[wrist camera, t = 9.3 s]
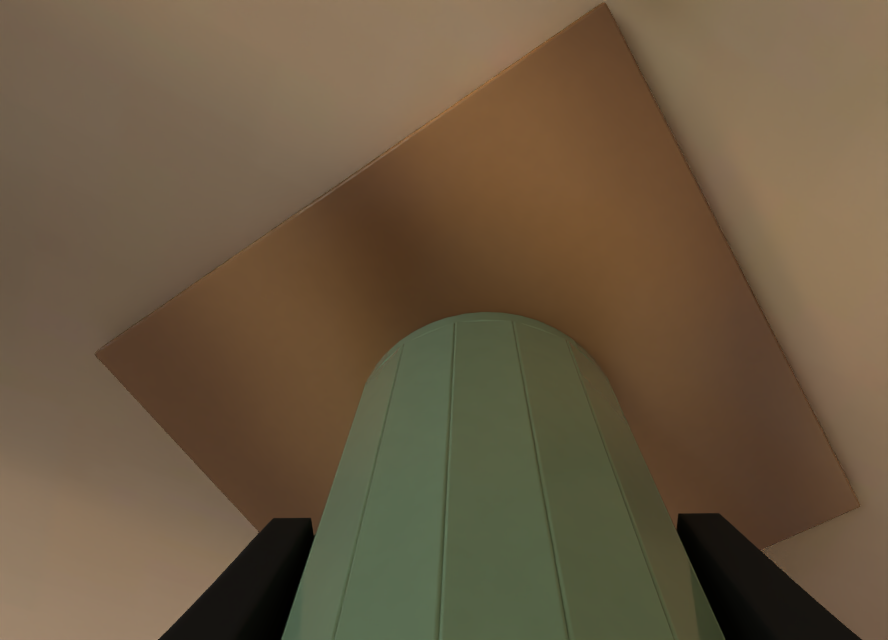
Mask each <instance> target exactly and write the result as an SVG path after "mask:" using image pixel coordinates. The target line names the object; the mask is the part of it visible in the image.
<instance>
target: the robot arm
mask: <svg viewBox="0 0 888 640" xmlns="http://www.w3.org/2000/svg"><path fill="white" fill-rule="evenodd" d="M676 530H677V533H678V535H679V537H680V539H681V541H682V544H683V546H684V548H685V550H686V552H687V555H688V557H689V559H690V561H691V564H692V566H693V568H694V570H695V572H696V575H697V577H698V579H699V581H700V583H701V586H702V588H703V590H704V592H705V595H706V597H707V599H708V601H709V603H710V606H711V608H712V610H713V612H714V614H715V617H716V619H717V621H718V623H719V626H720V628H721V630H722V632H723V634H724V637H725V639H726V640H862V639H861V638H859V637H858V636H857V635H856V634H855V633H853V632H852V631H851V630H850V629H848V628H847V627H846V626H845V625H844V624H843V623H841V622H840V621H839V620H838V619H837V618H836V617H834V616H833V615H832V614H831V613H830V612H829V611H827V610H826V609H825V608H824V607H823V606H822V605H820V604H819V603H818V602H817V601H816V600H815V599H814V598H812V597H811V596H810V595H809V594H808V593H807V592H806V591H804V590H803V589H802V588H801V587H800V586H799V585H798V584H797V583H795V582H794V581H793V580H792V579H791V578H790V577H789V576H788V575H787V574H785V573H784V572H783V571H782V570H781V569H780V568H779V567H778V566H777V565H776V564H774V563H773V562H772V561H771V560H770V559H769V558H768V557H767V556H766V555H765V554H763V553H762V552H761V551H760V550H759V549H758V548H757V547H756V546H755V545H754V544H753V543H752V542H750V541H749V540H748V539H747V538H746V537H745V536H744V535H743V534H742V533H741V532H740V531H738V530H737V529H736V528H735V527H734V526H733V525H732V524H731V523H730V522H729V521H727V520H726V519H725V518H724V517H723V516H722V515H721V514H719V513H678V520H677V529H676ZM313 536H314V534H313V527H312V520H311V518H273V519H272V520H271V521H270V522H269V523H268V524H267V525H266V526H265V527H264V528H263V529H262V530H261V531H260V532H259V533H258V535H257V536H256V537H255V538H254V539H253V540H252V541H251V542H250V543H249V544H248V546H247V547H246V548H245V549H244V550H243V551H242V552H241V553H240V554H239V555H238V557H237V558H236V559H235V560H234V561H233V562H232V563H231V564H230V565H229V566H228V567H227V569H226V570H225V571H224V572H223V573H222V574H221V575H220V576H219V577H218V578H217V579H216V581H215V582H214V583H213V584H212V585H211V586H210V587H209V588H208V589H207V590H206V591H205V592H204V593H203V594H202V595H201V596H200V597H199V598H198V599H197V601H196V602H195V603H194V604H193V605H192V606H191V607H190V608H189V609H188V610H187V611H186V612H185V613H184V614H183V615H182V616H181V617H180V618H179V619H178V620H177V621H176V622H175V623H174V624H173V625H172V626H171V627H170V629H169V630H168V631H167V632H166V633H165V634H164V635H162V636H161V637H160V638H159V639H158V640H279V639H280V636H281V633H282V630H283V627H284V624H285V621H286V618H287V615H288V612H289V609H290V606H291V603H292V600H293V597H294V594H295V591H296V588H297V585H298V582H299V579H300V576H301V573H302V570H303V567H304V564H305V561H306V558H307V555H308V552H309V549H310V546H311V543H312V540H313Z"/></svg>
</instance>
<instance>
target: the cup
mask: <svg viewBox="0 0 888 640" xmlns="http://www.w3.org/2000/svg"><path fill="white" fill-rule="evenodd" d="M279 640H726V639H725V637H724V634H723V632H722V630H721V628H720V626H719V623H718V621H717V619H716V617H715V614H714V612H713V610H712V608H711V606H710V603H709V601H708V599H707V597H706V595H705V592H704V590H703V588H702V586H701V583H700V581H699V579H698V577H697V575H696V572H695V570H694V568H693V566H692V564H691V561H690V559H689V557H688V555H687V552H686V550H685V548H684V546H683V544H682V541H681V539H680V537H679V535H678V533H677V530H676V528H675V526H674V524H673V521H672V519H671V517H670V515H669V513H668V510H667V508H666V506H665V504H664V502H663V499H662V497H661V495H660V493H659V491H658V488H657V486H656V484H655V482H654V479H653V477H652V475H651V473H650V471H649V468H648V466H647V464H646V462H645V460H644V457H643V455H642V453H641V451H640V448H639V446H638V444H637V442H636V440H635V437H634V435H633V433H632V431H631V429H630V426H629V424H628V422H627V420H626V417H625V415H624V413H623V411H622V409H621V406H620V404H619V402H618V400H617V398H616V395H615V393H614V391H613V389H612V386H611V384H610V382H609V380H608V378H607V377H606V375H605V374H604V372H603V371H602V369H601V368H600V367H599V365H598V364H597V362H596V361H595V360H594V358H593V357H592V356H591V355H590V354H589V353H588V352H587V351H586V350H585V349H584V348H583V347H582V346H581V345H579V344H578V343H577V342H576V341H574V340H573V339H572V338H571V337H569V336H568V335H566V334H564V333H563V332H561V331H559V330H557V329H556V328H554V327H552V326H549V325H547V324H545V323H542V322H540V321H538V320H534V319H531V318H527V317H524V316H520V315H514V314H508V313H499V312H477V313H466V314H461V315H456V316H451V317H447V318H444V319H441V320H438V321H435V322H433V323H430V324H428V325H426V326H424V327H422V328H420V329H418V330H416V331H414V332H412V333H411V334H409V335H408V336H406V337H405V338H403V339H402V340H400V341H399V342H398V343H397V344H396V345H395V346H393V347H392V348H391V349H390V350H389V351H388V352H387V353H386V354H385V355H384V356H383V358H382V359H381V360H380V361H379V362H378V363H377V365H376V366H375V368H374V369H373V371H372V373H371V374H370V376H369V377H368V379H367V381H366V383H365V385H364V388H363V391H362V393H361V396H360V399H359V402H358V405H357V408H356V411H355V413H354V416H353V419H352V422H351V425H350V428H349V431H348V434H347V437H346V440H345V443H344V446H343V449H342V452H341V455H340V458H339V461H338V464H337V467H336V470H335V473H334V476H333V479H332V482H331V485H330V488H329V491H328V494H327V497H326V500H325V503H324V506H323V509H322V512H321V515H320V518H319V521H318V524H317V527H316V530H315V533H314V536H313V540H312V543H311V546H310V549H309V552H308V555H307V558H306V561H305V564H304V567H303V570H302V573H301V576H300V579H299V582H298V585H297V588H296V591H295V594H294V597H293V600H292V603H291V606H290V609H289V612H288V615H287V618H286V621H285V624H284V627H283V630H282V633H281V636H280V639H279Z"/></svg>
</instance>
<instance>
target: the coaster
mask: <svg viewBox="0 0 888 640" xmlns="http://www.w3.org/2000/svg"><path fill="white" fill-rule="evenodd" d="M477 312H499V313H508V314H514V315H520V316H524V317H527V318H531V319H534V320H538V321H540V322H542V323H545V324H547V325H549V326H552V327H554V328H556V329H557V330H559V331H561V332H563V333H564V334H566V335H568V336H569V337H571V338H572V339H573V340H574V341H576V342H577V343H578V344H579V345H581V346H582V347H583V348H584V349H585V350H586V351H587V352H588V353H589V354H590V355H591V356H592V357H593V358H594V360H595V361H596V362H597V364H598V365H599V367H600V368H601V369H602V371H603V372H604V374H605V375H606V377H607V378H608V380H609V382H610V384H611V386H612V389H613V391H614V393H615V395H616V398H617V400H618V402H619V404H620V406H621V409H622V411H623V413H624V415H625V417H626V420H627V422H628V424H629V426H630V429H631V431H632V433H633V435H634V437H635V440H636V442H637V444H638V446H639V448H640V451H641V453H642V455H643V457H644V460H645V462H646V464H647V466H648V468H649V471H650V473H651V475H652V477H653V479H654V482H655V484H656V486H657V488H658V491H659V493H660V495H661V497H662V499H663V502H664V504H665V506H666V508H667V510H668V513H669V515H670V517H671V519H672V521H673V524H674V526H675V528H676V529H677V520H678V513H719V514H721V515H722V516H723V517H724V518H725V519H726V520H727V521H729V522H730V523H731V524H732V525H733V526H734V527H735V528H736V529H737V530H738V531H740V532H741V533H742V534H743V535H744V536H745V537H746V538H747V539H748V540H749V541H750V542H752V543H753V544H754V545H755V546H756V547H757V548H758V549H759V550H761V549H764V548H766V547H768V546H771V545H773V544H775V543H777V542H780V541H782V540H784V539H787V538H789V537H791V536H794V535H796V534H798V533H801V532H803V531H805V530H807V529H810V528H812V527H814V526H817V525H819V524H821V523H824V522H826V521H828V520H830V519H833V518H835V517H837V516H840V515H842V514H844V513H847V512H849V511H851V510H854V509H856V508H858V507H860V503H859V501H858V499H857V497H856V495H855V493H854V491H853V489H852V487H851V485H850V483H849V482H848V480H847V478H846V476H845V474H844V472H843V470H842V468H841V466H840V464H839V462H838V460H837V458H836V456H835V454H834V452H833V450H832V448H831V446H830V444H829V442H828V440H827V438H826V436H825V434H824V432H823V430H822V428H821V426H820V424H819V422H818V420H817V418H816V416H815V414H814V412H813V410H812V409H811V407H810V405H809V403H808V401H807V399H806V397H805V395H804V393H803V391H802V389H801V387H800V385H799V383H798V381H797V379H796V377H795V375H794V373H793V371H792V369H791V367H790V365H789V363H788V361H787V359H786V357H785V355H784V353H783V351H782V349H781V347H780V345H779V343H778V341H777V339H776V337H775V336H774V334H773V332H772V330H771V328H770V326H769V324H768V322H767V320H766V318H765V316H764V314H763V312H762V310H761V308H760V306H759V304H758V302H757V300H756V298H755V296H754V294H753V292H752V290H751V288H750V286H749V284H748V282H747V280H746V278H745V276H744V274H743V272H742V270H741V268H740V266H739V264H738V263H737V261H736V259H735V257H734V255H733V253H732V251H731V249H730V247H729V245H728V243H727V241H726V239H725V237H724V235H723V233H722V231H721V229H720V227H719V225H718V223H717V221H716V219H715V217H714V215H713V213H712V211H711V209H710V207H709V205H708V203H707V201H706V199H705V197H704V195H703V193H702V191H701V190H700V188H699V186H698V184H697V182H696V180H695V178H694V176H693V174H692V172H691V170H690V168H689V166H688V164H687V162H686V160H685V158H684V156H683V154H682V152H681V150H680V148H679V146H678V144H677V142H676V140H675V138H674V136H673V134H672V132H671V130H670V128H669V126H668V124H667V122H666V120H665V118H664V117H663V115H662V113H661V111H660V109H659V107H658V105H657V103H656V101H655V99H654V97H653V95H652V93H651V91H650V89H649V87H648V85H647V83H646V81H645V79H644V77H643V75H642V73H641V71H640V69H639V67H638V65H637V63H636V61H635V59H634V57H633V55H632V53H631V51H630V49H629V47H628V45H627V44H626V42H625V40H624V38H623V36H622V34H621V32H620V30H619V28H618V26H617V24H616V22H615V20H614V18H613V16H612V14H611V12H610V10H609V8H608V6H607V4H606V3H601V4H599V5H598V6H596V7H595V8H593V9H592V10H590V11H589V12H588V13H586V14H585V15H583V16H582V17H580V18H579V19H577V20H576V21H575V22H573V23H572V24H570V25H569V26H567V27H566V28H564V29H563V30H561V31H560V32H559V33H557V34H556V35H554V36H553V37H551V38H550V39H548V40H547V41H545V42H544V43H543V44H541V45H540V46H538V47H537V48H535V49H534V50H532V51H531V52H529V53H528V54H527V55H525V56H524V57H522V58H521V59H519V60H518V61H516V62H515V63H514V64H512V65H511V66H509V67H508V68H506V69H505V70H503V71H502V72H500V73H499V74H498V75H496V76H495V77H493V78H492V79H490V80H489V81H487V82H486V83H484V84H483V85H482V86H480V87H479V88H477V89H476V90H474V91H473V92H471V93H470V94H469V95H467V96H466V97H464V98H463V99H461V100H460V101H458V102H457V103H455V104H454V105H453V106H451V107H450V108H448V109H447V110H445V111H444V112H442V113H441V114H439V115H438V116H437V117H435V118H434V119H432V120H431V121H429V122H428V123H426V124H425V125H423V126H422V127H421V128H419V129H418V130H416V131H415V132H413V133H412V134H410V135H409V136H408V137H406V138H405V139H403V140H402V141H400V142H399V143H397V144H396V145H394V146H393V147H392V148H390V149H389V150H387V151H386V152H384V153H383V154H381V155H380V156H378V157H377V158H376V159H374V160H373V161H371V162H370V163H368V164H367V165H365V166H364V167H362V168H361V169H360V170H358V171H357V172H355V173H354V174H352V175H351V176H349V177H348V178H347V179H345V180H344V181H342V182H341V183H339V184H338V185H336V186H335V187H333V188H332V189H331V190H329V191H328V192H326V193H325V194H323V195H322V196H320V197H319V198H317V199H316V200H315V201H313V202H312V203H310V204H309V205H307V206H306V207H304V208H303V209H302V210H300V211H299V212H297V213H296V214H294V215H293V216H291V217H290V218H288V219H287V220H286V221H284V222H283V223H281V224H280V225H278V226H277V227H275V228H274V229H272V230H271V231H270V232H268V233H267V234H265V235H264V236H262V237H261V238H259V239H258V240H256V241H255V242H254V243H252V244H251V245H249V246H248V247H246V248H245V249H243V250H242V251H241V252H239V253H238V254H236V255H235V256H233V257H232V258H230V259H229V260H227V261H226V262H225V263H223V264H222V265H220V266H219V267H217V268H216V269H214V270H213V271H211V272H210V273H209V274H207V275H206V276H204V277H203V278H201V279H200V280H198V281H197V282H195V283H194V284H193V285H191V286H190V287H188V288H187V289H185V290H184V291H182V292H181V293H180V294H178V295H177V296H175V297H174V298H172V299H171V300H169V301H168V302H166V303H165V304H164V305H162V306H161V307H159V308H158V309H156V310H155V311H153V312H152V313H150V314H149V315H148V316H146V317H145V318H143V319H142V320H140V321H139V322H137V323H136V324H135V325H133V326H132V327H130V328H129V329H127V330H126V331H124V332H123V333H121V334H120V335H119V336H117V337H116V338H114V339H113V340H111V341H110V342H108V343H107V344H105V345H104V346H103V347H101V348H100V349H99V350H97V351H96V352H95V356H96V357H97V358H98V359H99V360H100V361H101V362H102V363H103V364H104V365H105V367H106V368H107V369H108V370H109V371H110V372H111V373H112V374H113V375H114V376H115V377H116V378H117V379H118V381H119V382H120V383H121V384H122V385H123V386H124V387H125V388H126V389H127V390H128V391H129V392H130V393H131V395H132V396H133V397H134V398H135V399H136V400H137V401H138V402H139V403H140V404H141V405H142V406H143V407H144V409H145V410H146V411H147V412H148V413H149V414H150V415H151V416H152V417H153V418H154V419H155V420H156V422H157V423H158V424H159V425H160V426H161V427H162V428H163V429H164V430H165V431H166V432H167V433H168V434H169V436H170V437H171V438H172V439H173V440H174V441H175V442H176V443H177V444H178V445H179V446H180V447H181V448H182V450H183V451H184V452H185V453H186V454H187V455H188V456H189V457H190V458H191V459H192V460H193V461H194V462H195V464H196V465H197V466H198V467H199V468H200V469H201V470H202V471H203V472H204V473H205V474H206V475H207V476H208V478H209V479H210V480H211V481H212V482H213V483H214V484H215V485H216V486H217V487H218V488H219V489H220V490H221V492H222V493H223V494H224V495H225V496H226V497H227V498H228V499H229V500H230V501H231V502H232V503H233V505H234V506H235V507H236V508H237V509H238V510H239V511H240V512H241V513H242V514H243V515H244V516H245V517H246V519H247V520H248V521H249V522H250V523H251V524H252V525H253V526H254V527H255V528H256V529H257V530H258V531H259V532H260V531H261V530H262V529H263V528H264V527H265V526H266V525H267V524H268V523H269V522H270V521H271V520H272V519H273V518H311V520H312V527H313V534H314V533H315V530H316V527H317V524H318V521H319V518H320V515H321V512H322V509H323V506H324V503H325V500H326V497H327V494H328V491H329V488H330V485H331V482H332V479H333V476H334V473H335V470H336V467H337V464H338V461H339V458H340V455H341V452H342V449H343V446H344V443H345V440H346V437H347V434H348V431H349V428H350V425H351V422H352V419H353V416H354V413H355V411H356V408H357V405H358V402H359V399H360V396H361V393H362V391H363V388H364V385H365V383H366V381H367V379H368V377H369V376H370V374H371V373H372V371H373V369H374V368H375V366H376V365H377V363H378V362H379V361H380V360H381V359H382V358H383V356H384V355H385V354H386V353H387V352H388V351H389V350H390V349H391V348H392V347H393V346H395V345H396V344H397V343H398V342H399V341H400V340H402V339H403V338H405V337H406V336H408V335H409V334H411V333H412V332H414V331H416V330H418V329H420V328H422V327H424V326H426V325H428V324H430V323H433V322H435V321H438V320H441V319H444V318H447V317H451V316H456V315H461V314H466V313H477Z"/></svg>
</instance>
